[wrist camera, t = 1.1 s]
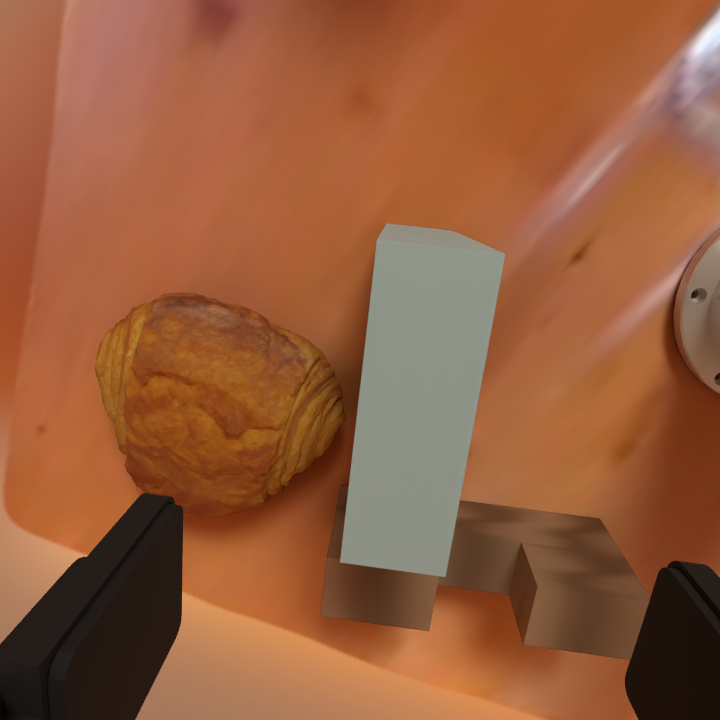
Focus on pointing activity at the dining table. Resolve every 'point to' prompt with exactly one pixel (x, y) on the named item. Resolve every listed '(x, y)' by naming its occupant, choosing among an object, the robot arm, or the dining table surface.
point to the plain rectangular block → (418, 396)
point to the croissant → (215, 402)
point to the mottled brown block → (507, 579)
